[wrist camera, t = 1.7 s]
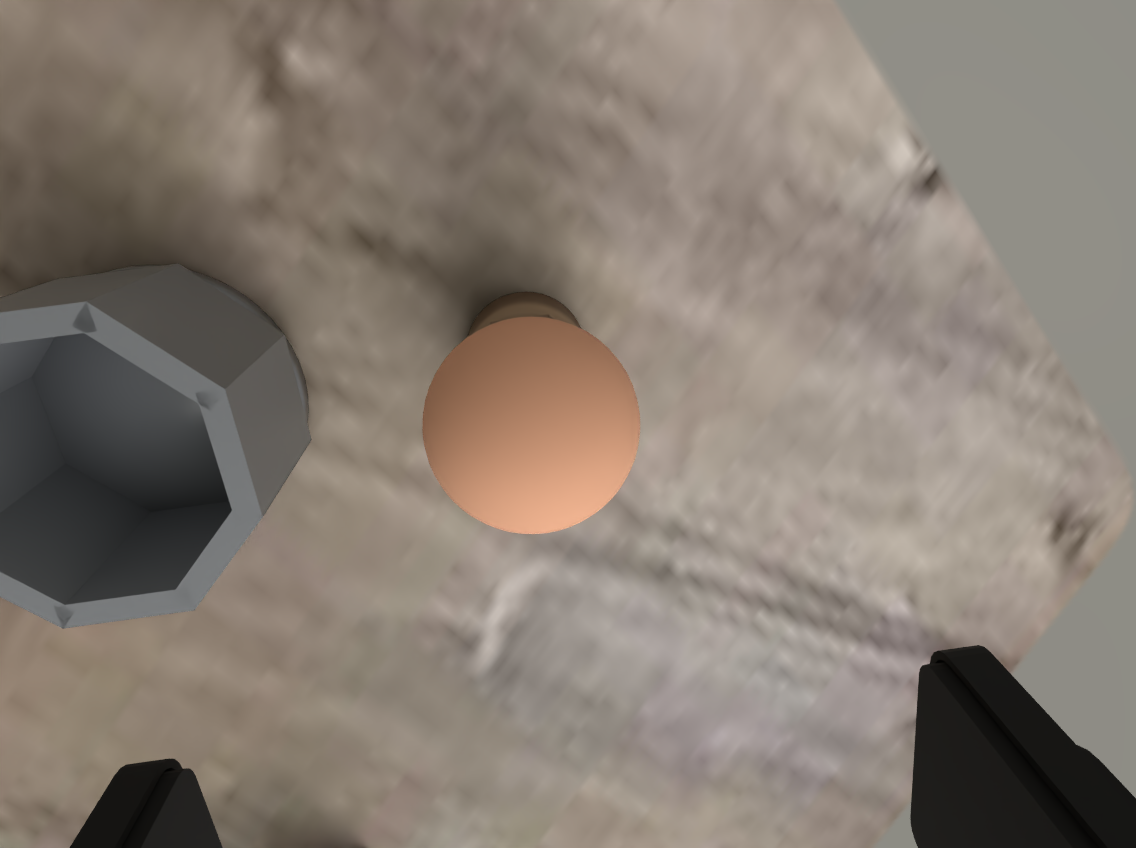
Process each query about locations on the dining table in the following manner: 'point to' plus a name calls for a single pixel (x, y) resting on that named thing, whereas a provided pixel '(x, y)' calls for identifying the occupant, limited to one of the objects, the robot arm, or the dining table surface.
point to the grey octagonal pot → (137, 439)
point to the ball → (531, 425)
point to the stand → (522, 310)
